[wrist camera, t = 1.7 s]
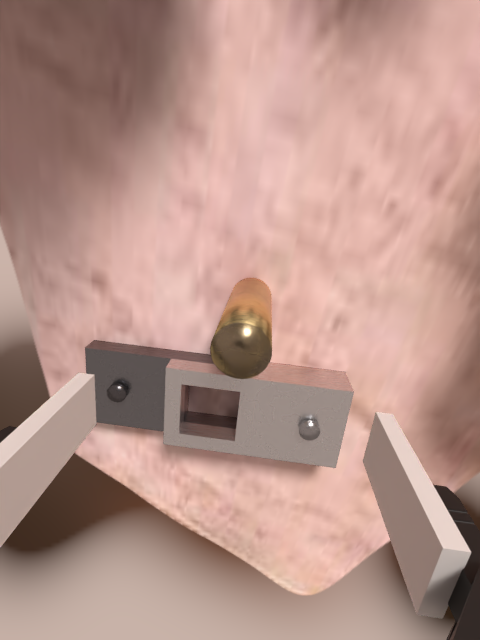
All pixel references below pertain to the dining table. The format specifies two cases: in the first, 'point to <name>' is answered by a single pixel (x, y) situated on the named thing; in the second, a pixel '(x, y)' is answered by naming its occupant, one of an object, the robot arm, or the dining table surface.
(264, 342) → the pin
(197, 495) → the dining table surface
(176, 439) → the door bolt
